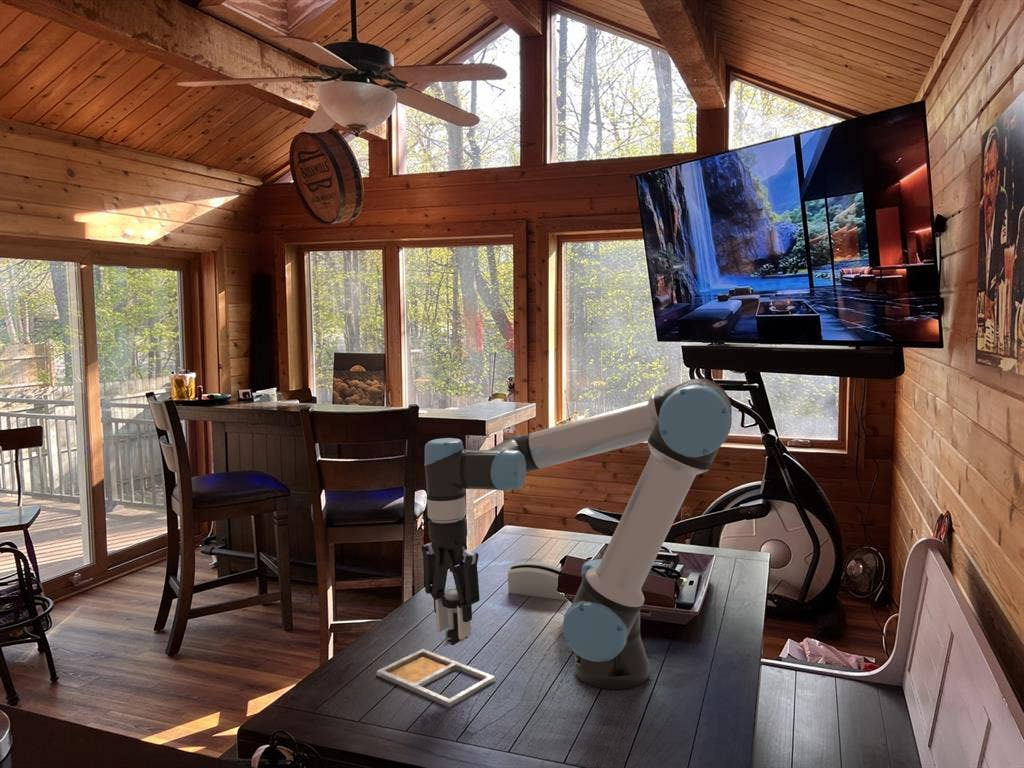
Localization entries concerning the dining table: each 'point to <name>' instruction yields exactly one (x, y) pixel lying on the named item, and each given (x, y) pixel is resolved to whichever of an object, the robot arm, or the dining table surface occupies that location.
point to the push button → (451, 617)
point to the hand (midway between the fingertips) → (453, 632)
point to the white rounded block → (534, 580)
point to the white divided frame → (431, 675)
